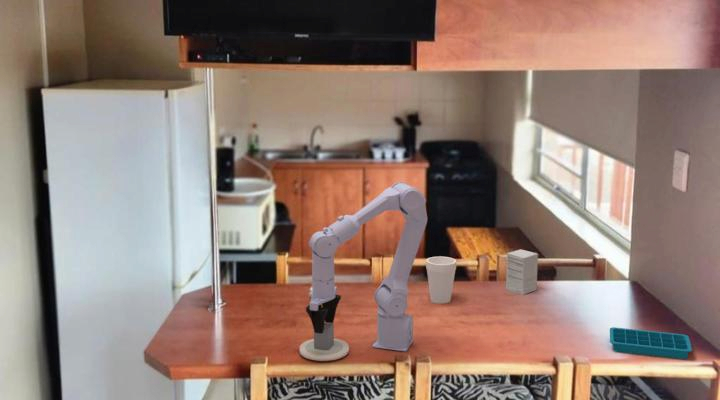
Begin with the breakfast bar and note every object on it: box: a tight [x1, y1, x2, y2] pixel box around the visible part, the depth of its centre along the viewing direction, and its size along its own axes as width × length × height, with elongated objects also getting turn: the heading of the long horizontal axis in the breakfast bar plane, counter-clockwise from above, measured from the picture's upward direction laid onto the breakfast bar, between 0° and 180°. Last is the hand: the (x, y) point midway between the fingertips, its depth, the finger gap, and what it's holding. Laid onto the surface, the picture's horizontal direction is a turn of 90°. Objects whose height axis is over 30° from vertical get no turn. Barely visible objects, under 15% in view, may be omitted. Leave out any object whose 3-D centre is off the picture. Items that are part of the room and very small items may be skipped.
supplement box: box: [505, 248, 539, 296], centre depth 252 cm, size 7×7×13 cm
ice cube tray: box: [609, 326, 693, 360], centre depth 206 cm, size 12×20×3 cm, turn 73°
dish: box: [299, 337, 350, 362], centre depth 203 cm, size 13×13×2 cm
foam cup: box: [425, 255, 457, 305], centre depth 242 cm, size 10×9×13 cm
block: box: [313, 322, 335, 350], centre depth 203 cm, size 4×4×6 cm
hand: (324, 327), depth 202 cm, fingers open, 7 cm apart
